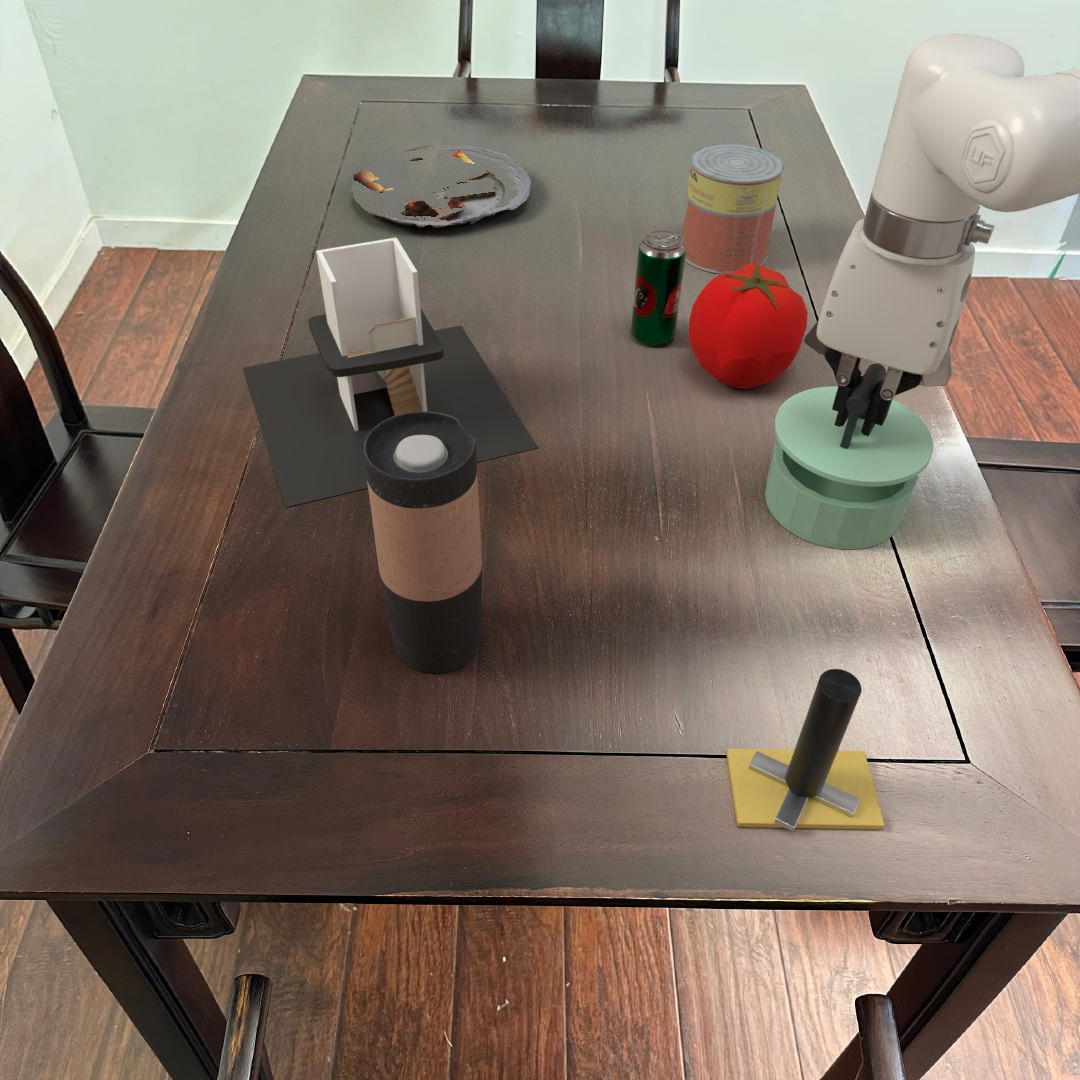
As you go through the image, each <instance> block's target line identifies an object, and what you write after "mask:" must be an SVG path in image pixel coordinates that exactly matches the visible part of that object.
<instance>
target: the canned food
mask: <svg viewBox="0 0 1080 1080" xmlns="http://www.w3.org/2000/svg"><path fill="white" fill-rule="evenodd" d="M689 159H690V161H689V162H690V165H689V166H690V167H689V174H688V182H687V191H686V199H685V207H684V215H683V224H682V231H681V236H682V237H683V239H684V243H683V244H684V246H685V248H686V255H685V263H687V264H689V265H690V266H691V267H694V268H696V269H698V270H701V271H704V272H708V273H712V274H718V275H720V274H723V273H721V272H719V271H722V272H725V273H727V272H735V271H737V270H738V269H740V268H742V267H744V266H746V265H750V264H759V265H761V266H764V265H765V263H766V261H767V258H768V250H769V249H768V248H769V242H770V238H771V232H772V228H773V224H774V223H773V222H774V217H775V212H776V207H777V202H778V195H779V193H780V186H781V182H782V177H783V172H784V170H785V164H784V162H783V160H782V158H781V157H780V156H779V155H777V154H776V153H773V152H772V151H770V150H768V149H764V148H762V147H760V146H755V145H750V144H744V143H733V142H731V143H729V142H726V143H724V142H723V143H715V144H710V145H706V146H703V147H701V148H698V149H697V150H695V151H694V152H692V154H691V155H690V158H689ZM714 269H715V270H714ZM717 270H718V271H717Z"/></svg>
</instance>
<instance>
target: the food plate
mask: <svg viewBox="0 0 1080 1080" xmlns="http://www.w3.org/2000/svg"><path fill="white" fill-rule="evenodd" d="M426 148H427V149H430V150H433V149H435V150H442V151H443V150H448V151H452V150H453V151H457V152H455V153H454V154H453V155H452V158H460V159H462V160H463V161H464V162H465V163H472V164H474V163H475V162H472V160H471V159H469V158H468V157H467V156H465V154H464V153H466V154H470V155H474V156H479V157H480V158H484V159H487V160H489V161H494V163H496V164H498V165H501V166H502V170H508V171H510V172H508V174H507V176H508V177H507V178H509V179H513V181H514V182H515V183H516V184H517V185H516V186H515V187H512V189H511V190H514V189H517V190H518V192H517V193H518V195H517V196H516V197H515V198H514V199H511V200H510V202H509V203H511V204H508V205H506V206H504V207H499V208H496V207H495V205H497V204H498V203H500V202H501V201H502V199H503V198H504V195H505V187H504V185H503V183H502V182H501V181H500V180H498V179H496V177H495V175H494V174H492V173H490V172H489V171H488V170H486V169H485V170H486V172H488V173H485V174H483V175H481V176H478V177H474V178H472V179H471V178H469V180H481V179H492V183H494V185H495V186H496V187H493V188H494V190H495V192H488V193H481V194H473V195H467V196H461V197H452V198H450V201H449V202H448V203H447V204H448V206H449V208H450V209H453V208H462V207H463V206H464V205H465V206H466V208H465V209H464V210H461V211H458V212H456V213H452V214H449V215H446V216H443V217H441V218H439V219H440V220H441V222H433V221H432V220H426V219H425V218H424V220H418V219H407V218H405V219H404V220H403V219H397V218H392V217H388V216H387V215H386V216H387V217H388V218H387V217H386V216H384V215H383V216H382V215H380V216H382V217H384V218H385V219H384V218H383V219H384V220H388V221H389V220H391V221H393V222H392V223H394V222H396V223H398V224H397V225H403V226H411V227H412V226H413V227H414V225H415V227H416V226H418V227H417V228H420V227H422V228H424V227H426V226H432V228H436V229H438V228H443V227H446V226H455V225H466V224H467V222H469V223H470V225H473V224H474V223H477V222H478V221H481V220H482V219H483V218H482V217H484V218H487V217H492V216H494V215H495V214H497V213H499V212H504V211H505V210H506V211H507V210H508V211H514V210H516V209H517V208H519V207H520V206H521V205H523V204H524V203H525V202H526V201H528V198H529V197H530V193H531V183H532V179H531V176H530V175H529V172H528V170H527V169H525V168H526V167H524V166H523V165H522V164H521V163H519V162H518V161H515V159H512V157H510V156H509V155H507V154H504V153H499V152H497V151H494V150H491V149H487V148H483V147H479V146H478V147H477V146H470V145H433V146H432V145H423V146H418V147H413V148H410V149H406V150H402V151H400V152H399V153H402V152H406V151H415V150H421V149H424V150H426ZM411 159H412V160H410V161H418V160H423V158H421V157H419V158H411ZM478 166H479V165H478ZM499 168H500V167H499ZM483 169H484V168H483ZM352 177H353V178H352V180H353V179H354V181H358V182H359V183H361V184H362V185H364V186H366V187H367V188H369V189H371V190H374V191H380V192H378V193H383V192H384V191H385V190H386V191H391V190H393V188H389V189H384V188H383V187H382V186H381V185H380V184H378V183H372V182H371V181H374V180H378V179H379V178H378V177H375V176H374V175H373V174H372V173H371V172H367V171H365V172H364V171H362V170H359V171H357V172H356V173H353V175H352ZM466 181H467V180H466ZM455 183H457V182H455ZM460 183H463V184H464V183H467V182H459V183H457V184H460ZM447 188H449V187H447ZM453 188H454V187H453ZM513 188H514V189H513ZM443 189H444V188H443ZM451 189H452V188H451ZM444 190H447V189H444ZM433 193H436V194H438V195H440V194H445V192H433ZM435 196H436V195H435ZM440 196H441V197H438V198H442V199H447V200H448V197H446V196H443V195H440ZM438 198H437V199H438ZM404 207H405V211H404V212H405V214H404V212H401V213H402V215H405V216H414V217H416V216H421V217H422V216H431V217H436V216H437V215H439V214H438V212H437V211H436V210H435V209H432V207H431V206H430V205H428V203H426V202H425V201H424V200H422V201H421V200H418V201H411V202H409V203H406V206H404ZM434 208H436V207H434ZM490 208H491V210H490ZM436 209H439V210H445V209H442V208H436ZM492 211H493V212H492ZM372 213H373V212H372ZM391 213H392V212H391ZM395 213H398V212H395ZM401 213H399V214H401ZM373 214H375V215H378V216H379V214H380V213H379V214H376V213H373ZM491 215H492V216H491ZM486 216H487V217H486ZM382 217H381V218H382ZM464 217H467V218H469V219H467V220H465V219H463V218H464ZM481 218H482V219H481ZM477 219H479V220H477ZM391 221H390V222H391ZM422 221H423V222H422ZM460 222H463V223H460ZM396 223H395V224H396Z"/></svg>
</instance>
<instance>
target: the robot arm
mask: <svg viewBox="0 0 1080 1080" xmlns="http://www.w3.org/2000/svg"><path fill="white" fill-rule="evenodd" d="M880 155H881V156H880V159H879V163H878V166H877V169H876V174H875V178H874V182H873V185H872V189H871V193H870V197H869V200H868V204H867V208H866V213H865V215H864V218H862V219H859V220H858V221H856V223H855V225H854V227H853V228H852V231H851V233H850V235H849V236H848V239H847V241H846V243H845V245H844V247H843V249H842V252H841V254H840V257H839V259H838V261H837V264H836V267H835V269H834V273H833V275H832V278H831V280H830V283H829V286H828V290H827V292H826V295H825V299H824V301H823V305H822V307H821V311H820V314H819V318H818V320H817V321H816V322H815V324H814V325H813V326H811V329H810V330H809V331H808V332H807V334H806V336H804V338H803V340H804V341H803V342H804V343H805V345H807V346H808V347H809V348H811V350H813V351H815V352H816V353H818V354H819V355H820V356H821V355H822V356H823V357H824V359H825V361H826V363H827V364H828V366H829V367H830V368H831V371H832V372H833V373H834V375H835V383H836V384H837V386H838V389H837V393H836V396H835V400H834V403H833V407H832V410H834V411H837V412H838V414H837V417H836V421H835V424H834V425H835V426H838V427H841V426H844V424H845V422H846V421H847V419H848V417H849V414H850V412H849V411H848V410H847V408H846V403H847V401H848V399H849V397H850V396H851V394H852V393H853V391H854V389H855V388H856V386H857V385H858V383H859V381H860V380H861V378H862V377H863V375H862V373H863V372H862V371H861V369H860V366H861V363H862V360H866V361H868V362H872V363H874V364H875V363H876V364H881V365H882V366H884V367H885V366H886V367H887V369H886V376H885V378H884V379H883V381H882V382H880V384H879V386H878V387H877V389H876V391H875V393H874V394H873V396H872V399H871V402H870V404H869V407H868V410H867V413H866V417H865V420H864V423H863V426H862V430H861V433H863V434H862V435H865V436H869V435H870V433H871V431H872V429H873V428H874V426H875V424H877V425H880V426H882V425H883V423H884V422H885V419H886V417H887V414H888V411H889V408H890V405H891V402H892V399H893V400H894V398H895V396H898V395H901V394H903V393H906V392H908V391H910V390H913V389H915V388H917V387H919V386H920V387H921V386H922V387H945V386H946V385H948V383H949V382H950V379H951V378H952V375H953V371H952V360H951V358H952V357H951V345H952V344H953V340H954V338H955V335H956V333H957V330H958V326H959V322H960V320H961V316H962V313H963V310H964V306H965V303H966V300H967V295H968V292H969V288H970V284H971V280H972V275H973V269H974V264H975V256H976V255H975V254H976V248H975V246H974V244H977V243H981V244H984V245H985V244H986V245H988V244H989V242H990V239H991V237H992V235H993V232H994V229H995V225H994V224H990V223H986V221H985V220H984V219H981V216H982V215H980V214H979V211H980V209H981V206H982V207H983V208H986V209H988V210H991V211H994V212H1000V213H1015V212H1016V213H1017V212H1021V211H1026V210H1031V209H1033V208H1036V207H1040V206H1043V205H1047V204H1051V203H1054V202H1057V201H1060V200H1064V199H1066V198H1068V197H1072V196H1076V195H1079V194H1080V67H1076V68H1075V67H1074V68H1072V69H1067V70H1064V71H1058V72H1054V73H1050V74H1042V75H1040V74H1039V75H1031V76H1025V63H1024V59H1023V57H1022V56H1021V54H1020V53H1019V51H1018V50H1017V49H1015V48H1014V47H1013V46H1011V45H1009V44H1007V43H1005V42H1003V41H1001V40H998V39H995V38H991V37H987V36H983V35H978V34H969V33H946V34H940V35H934V36H929V37H928V38H926V39H925V40H922V41H921V42H918V44H917V45H916V46H915V47H914V48H913V49H912V50H911V52H910V53H909V55H908V57H907V59H906V62H905V64H904V68H903V72H902V75H901V79H900V82H899V86H898V91H897V95H896V98H895V102H894V106H893V109H892V113H891V117H890V122H889V125H888V129H887V132H886V137H885V140H884V143H883V147H882V151H881V154H880Z"/></svg>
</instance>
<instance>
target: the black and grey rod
mask: <svg viewBox="0 0 1080 1080" xmlns="http://www.w3.org/2000/svg"><path fill="white" fill-rule="evenodd" d="M862 692H863V691H862V685H861V682H860V680H859V679H858V678H857V676H856V675H854V674H852V673H851V672H849V671H848V670H845V669H841V668H830V669H827V670H825V671H824V672H822V673H821V674H820V676H819V677H818V681H817V684H816V687H815V689H814V693H813V695H812V698H811V701H810V704H809V707H808V710H807V713H806V716H805V719H804V721H803V724H802V727H801V729H800V733H799V736H798V739H797V742H796V745H795V747H794V749H793V750H794V753H793V756H792V758H791V761H790V764H789V766H788V765H786V764H784V763H782V762H780V761H778V760H776V759H773V758H771V757H769V756H767V755H765V754H763V753H761V752H758V751H756V753H755V755H754V757H753V759H752V761H751V763H750V765H749V769H751V770H753V771H755V772H757V773H760V774H762V775H764V776H766V777H768V778H770V779H772V780H774V781H776V782H778V783H780V784H783V785H785V786H787V787H789V790H788V792H787V794H786V797H785V799H784V801H783V803H782V805H781V807H780V810H779V812H778V814H777V816H776V818H775V821H774V822H775V823H777V824H779V825H781V826H783V827H785V828H784V829H787V830H788V831H791V832H795V830H796V828H795V827H796V825H797V823H798V821H799V818H800V816H801V814H802V812H803V809H804V807H805V805H806V803H807V800H808V798H809V797H810V798H812V799H814V800H816V801H818V802H820V803H822V804H824V805H826V806H829V807H831V808H833V809H835V810H837V811H839V812H841V813H843V814H845V815H847V816H849V817H853V815H854V813H855V810H856V808H857V805H858V803H859V800H860V799H859V798H856V797H854V796H852V795H850V794H848V793H846V792H844V791H842V790H839V789H837V788H835V787H833V786H831V785H829V784H827V783H825V781H826V779H827V776H828V774H829V771H830V769H831V766H832V764H833V761H834V759H835V756H836V754H837V751H839V749H840V746H841V744H842V742H843V740H844V736H845V734H846V731H847V730H848V727H849V724H850V723H851V719H852V717H853V714H854V712H855V710H856V707H857V705H858V701H859V700H860V697H861V694H862Z"/></svg>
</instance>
